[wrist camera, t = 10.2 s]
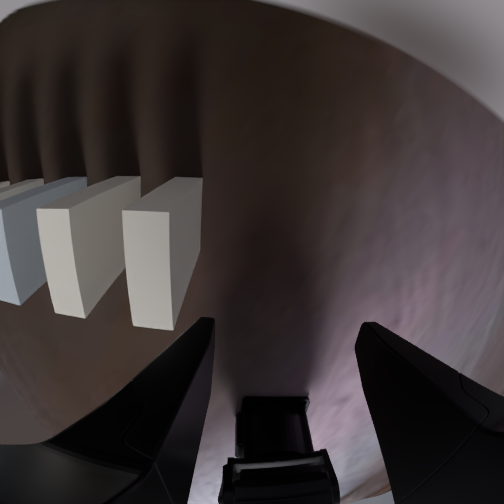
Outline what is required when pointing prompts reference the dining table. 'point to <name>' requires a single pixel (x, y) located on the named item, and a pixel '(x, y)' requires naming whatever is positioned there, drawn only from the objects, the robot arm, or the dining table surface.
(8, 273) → the domino
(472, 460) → the robot arm
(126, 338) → the dining table surface
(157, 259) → the domino
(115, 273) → the domino
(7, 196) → the domino
